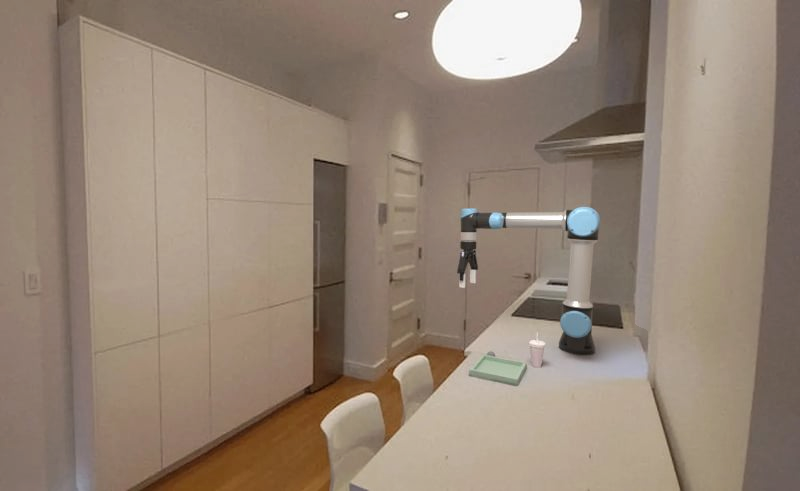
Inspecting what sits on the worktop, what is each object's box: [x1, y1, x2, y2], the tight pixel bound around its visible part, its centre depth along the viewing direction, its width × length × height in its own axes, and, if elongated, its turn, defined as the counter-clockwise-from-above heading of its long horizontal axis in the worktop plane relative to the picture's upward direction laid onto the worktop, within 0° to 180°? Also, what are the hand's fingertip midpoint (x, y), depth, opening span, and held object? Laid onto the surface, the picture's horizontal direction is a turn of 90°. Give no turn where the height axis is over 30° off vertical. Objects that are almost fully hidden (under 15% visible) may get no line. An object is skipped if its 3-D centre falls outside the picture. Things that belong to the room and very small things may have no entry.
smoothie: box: [528, 332, 546, 368], centre depth 157 cm, size 6×6×14 cm
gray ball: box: [486, 350, 496, 357], centre depth 163 cm, size 4×4×4 cm
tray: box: [468, 354, 528, 387], centre depth 151 cm, size 18×18×2 cm
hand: (467, 285), depth 185 cm, fingers open, 13 cm apart
